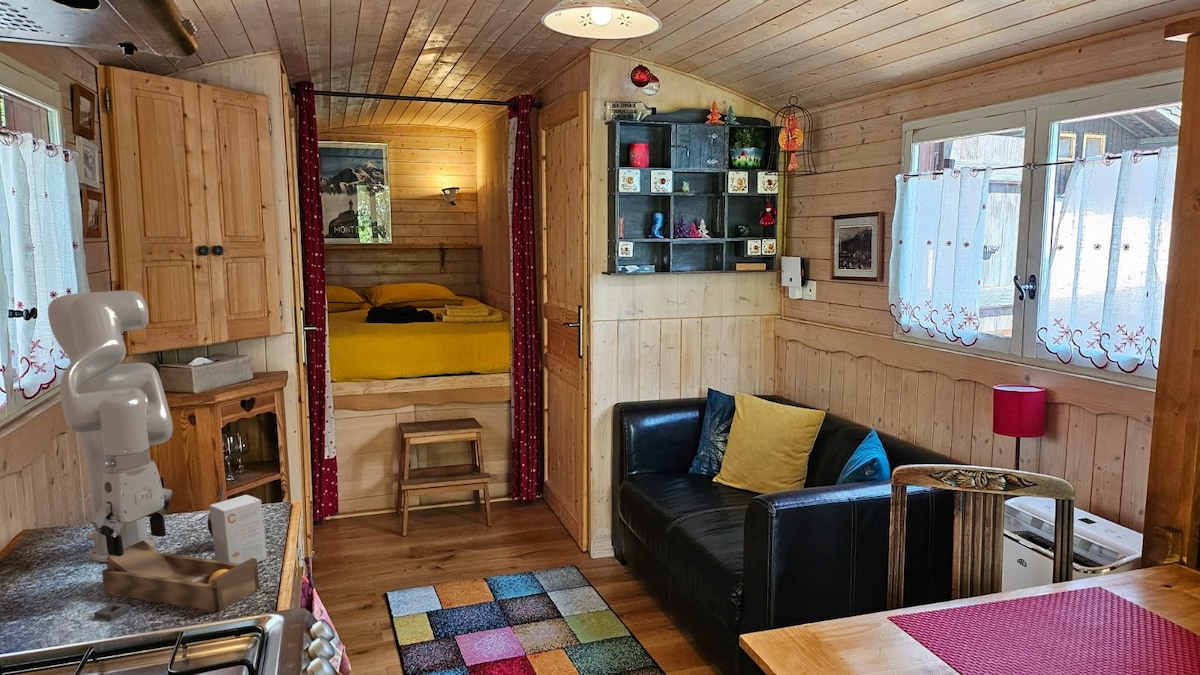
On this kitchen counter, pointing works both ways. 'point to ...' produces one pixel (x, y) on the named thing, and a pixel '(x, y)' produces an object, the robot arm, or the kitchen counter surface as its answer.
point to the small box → (238, 529)
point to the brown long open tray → (178, 578)
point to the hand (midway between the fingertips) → (137, 545)
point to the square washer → (112, 611)
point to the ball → (217, 574)
